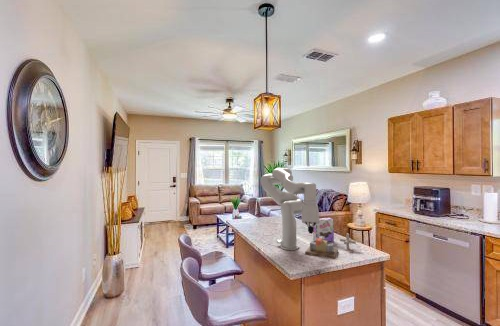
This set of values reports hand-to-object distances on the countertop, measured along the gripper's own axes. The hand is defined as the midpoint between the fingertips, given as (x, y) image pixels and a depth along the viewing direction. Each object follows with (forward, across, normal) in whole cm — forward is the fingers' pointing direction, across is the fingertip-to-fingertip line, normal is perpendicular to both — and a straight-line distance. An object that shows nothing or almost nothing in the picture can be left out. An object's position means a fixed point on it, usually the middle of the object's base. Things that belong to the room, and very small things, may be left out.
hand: (311, 233), depth 155 cm
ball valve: (+13, +4, +9) cm, 17 cm away
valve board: (+14, +4, +10) cm, 18 cm away
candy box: (+14, 0, +36) cm, 39 cm away
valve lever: (+6, +4, +4) cm, 9 cm away
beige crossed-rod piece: (+15, +18, +26) cm, 35 cm away
